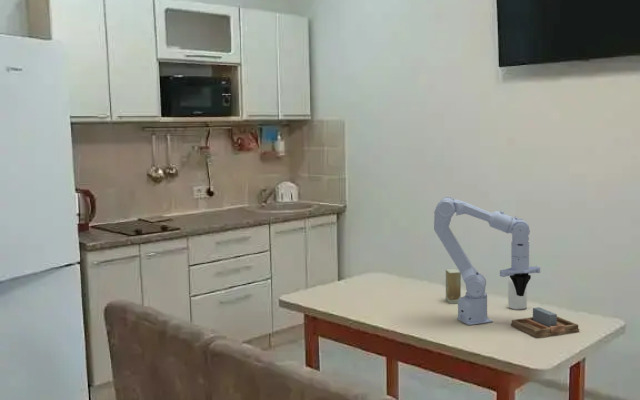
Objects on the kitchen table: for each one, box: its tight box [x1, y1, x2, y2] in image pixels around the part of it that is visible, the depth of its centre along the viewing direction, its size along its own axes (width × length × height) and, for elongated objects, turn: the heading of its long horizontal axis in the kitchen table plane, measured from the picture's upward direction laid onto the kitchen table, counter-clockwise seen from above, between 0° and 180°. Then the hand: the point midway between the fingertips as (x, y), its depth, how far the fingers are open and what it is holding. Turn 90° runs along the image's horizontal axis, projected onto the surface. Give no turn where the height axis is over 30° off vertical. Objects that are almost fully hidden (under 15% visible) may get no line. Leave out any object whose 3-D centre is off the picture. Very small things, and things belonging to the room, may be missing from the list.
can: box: [507, 276, 528, 311], centre depth 240 cm, size 6×6×12 cm
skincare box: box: [445, 268, 462, 305], centre depth 251 cm, size 6×4×12 cm
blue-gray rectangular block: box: [532, 306, 558, 328], centre depth 214 cm, size 2×9×5 cm, turn 18°
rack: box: [510, 316, 580, 339], centre depth 215 cm, size 16×14×3 cm
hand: (520, 295), depth 221 cm, fingers closed
